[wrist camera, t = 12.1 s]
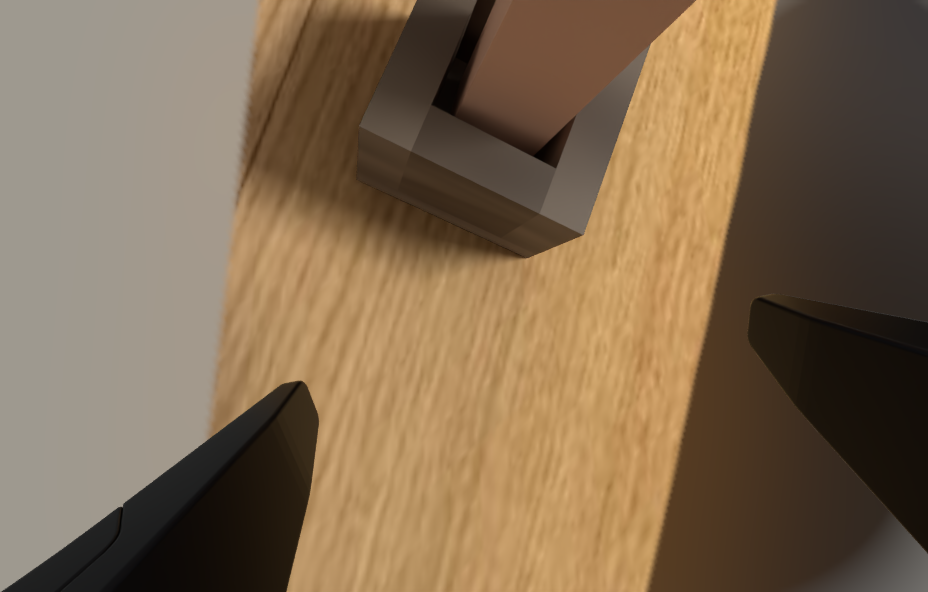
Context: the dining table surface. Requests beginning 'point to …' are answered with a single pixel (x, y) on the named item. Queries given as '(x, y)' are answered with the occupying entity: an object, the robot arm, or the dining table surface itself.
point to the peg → (552, 62)
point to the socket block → (481, 141)
